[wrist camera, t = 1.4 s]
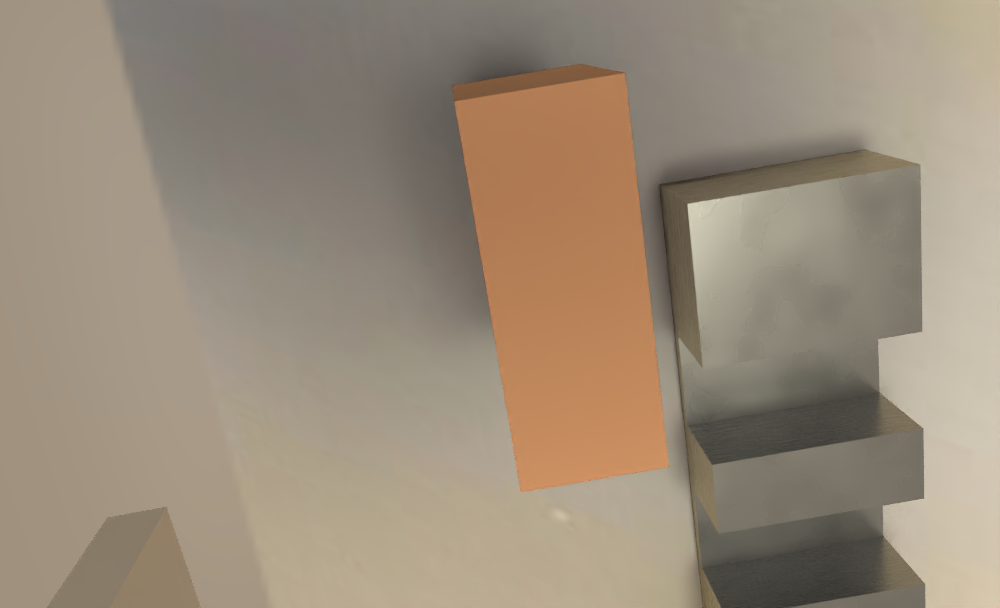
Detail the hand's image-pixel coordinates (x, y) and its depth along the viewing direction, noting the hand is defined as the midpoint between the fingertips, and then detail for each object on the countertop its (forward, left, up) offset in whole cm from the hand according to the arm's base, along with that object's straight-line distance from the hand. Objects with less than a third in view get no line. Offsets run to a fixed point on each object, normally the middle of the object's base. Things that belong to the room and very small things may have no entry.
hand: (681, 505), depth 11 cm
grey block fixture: (+9, +8, -19) cm, 22 cm away
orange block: (-1, 0, -19) cm, 19 cm away
